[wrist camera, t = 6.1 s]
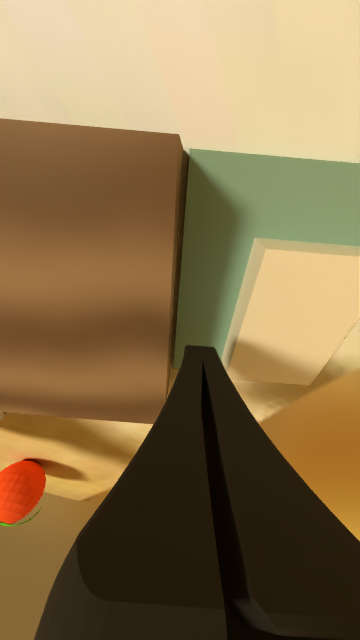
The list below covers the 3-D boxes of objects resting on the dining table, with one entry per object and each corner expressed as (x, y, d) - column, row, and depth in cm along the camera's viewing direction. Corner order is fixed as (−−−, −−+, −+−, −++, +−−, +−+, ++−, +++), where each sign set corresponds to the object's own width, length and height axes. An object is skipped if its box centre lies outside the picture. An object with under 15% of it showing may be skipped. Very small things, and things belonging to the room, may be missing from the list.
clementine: (69, 467, 32) (43, 532, 26) (46, 475, 35) (18, 535, 29) (21, 448, 29) (-23, 518, 23) (-1, 459, 31) (-44, 523, 25)
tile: (225, 378, 14) (221, 357, 16) (309, 385, 14) (297, 364, 16) (266, 249, 9) (254, 237, 11) (400, 260, 9) (368, 247, 11)
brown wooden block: (168, 380, 18) (164, 425, 15) (35, 369, 18) (1, 412, 15) (183, 148, 9) (178, 134, 6) (-93, 124, 9) (-258, 95, 6)
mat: (303, 376, 17) (304, 379, 17) (173, 365, 17) (173, 368, 17) (438, 171, 9) (445, 171, 9) (190, 149, 9) (190, 148, 9)
